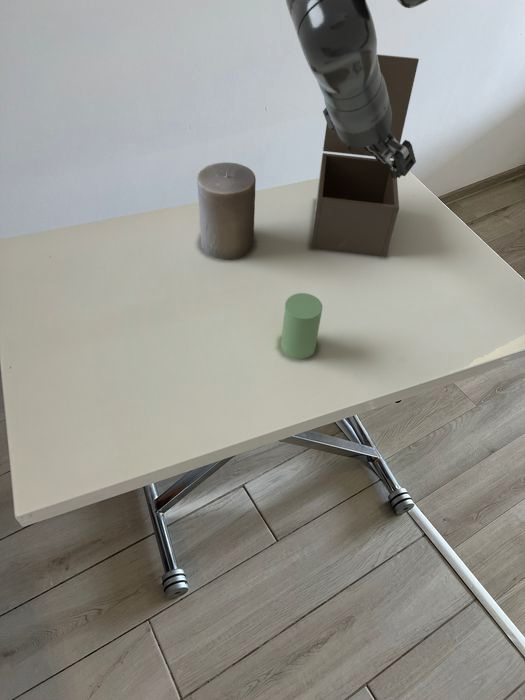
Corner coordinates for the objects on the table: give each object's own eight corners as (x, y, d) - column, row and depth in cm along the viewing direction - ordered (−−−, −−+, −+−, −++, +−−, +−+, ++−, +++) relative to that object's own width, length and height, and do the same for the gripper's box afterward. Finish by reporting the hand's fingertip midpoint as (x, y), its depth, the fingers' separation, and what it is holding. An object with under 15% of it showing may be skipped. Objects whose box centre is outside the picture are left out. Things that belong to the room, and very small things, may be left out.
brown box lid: (418, 59, 87) (418, 58, 88) (336, 51, 88) (336, 50, 89) (396, 159, 97) (396, 157, 98) (322, 151, 98) (323, 149, 99)
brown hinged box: (385, 259, 96) (399, 208, 88) (310, 250, 97) (317, 198, 89) (383, 210, 106) (395, 160, 98) (315, 203, 107) (322, 152, 99)
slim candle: (315, 338, 82) (323, 295, 75) (313, 363, 79) (321, 321, 72) (282, 334, 82) (287, 290, 76) (278, 359, 79) (283, 316, 72)
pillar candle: (264, 245, 97) (269, 170, 86) (226, 269, 92) (225, 193, 81) (227, 222, 101) (227, 148, 90) (188, 244, 96) (183, 168, 85)
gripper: (423, 104, 64) (429, 162, 79) (333, 53, 69) (355, 116, 84) (383, 156, 65) (397, 203, 80) (297, 102, 70) (325, 156, 85)
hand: (375, 159), depth 82 cm, fingers open, 8 cm apart
